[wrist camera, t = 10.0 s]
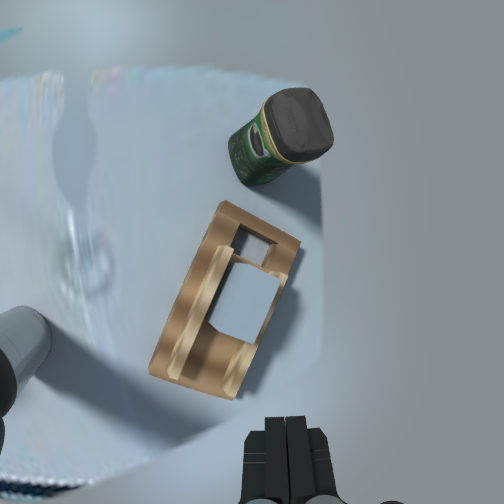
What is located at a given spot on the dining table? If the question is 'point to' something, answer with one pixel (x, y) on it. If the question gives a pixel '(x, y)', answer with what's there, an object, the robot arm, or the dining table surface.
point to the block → (242, 301)
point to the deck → (199, 299)
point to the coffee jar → (281, 136)
